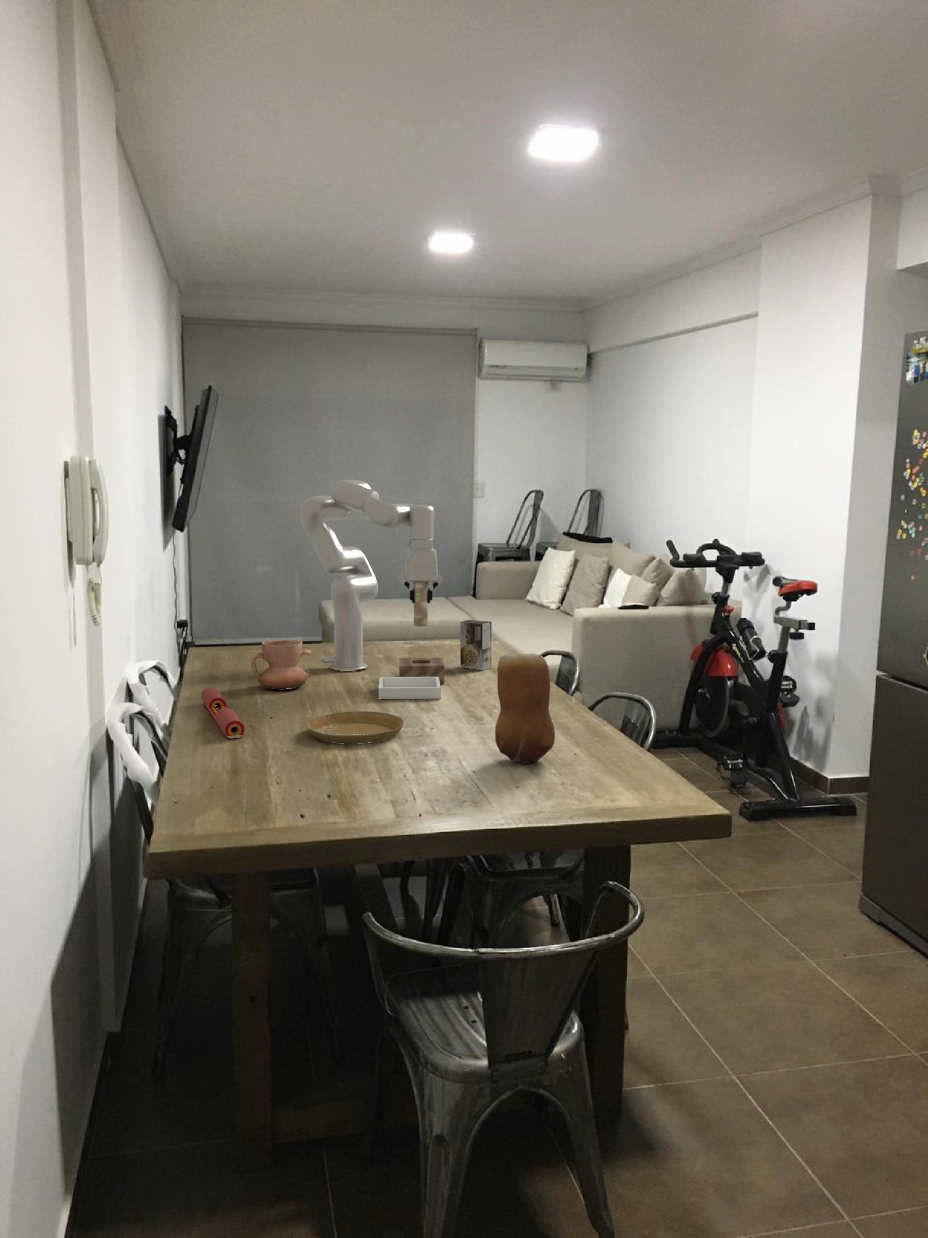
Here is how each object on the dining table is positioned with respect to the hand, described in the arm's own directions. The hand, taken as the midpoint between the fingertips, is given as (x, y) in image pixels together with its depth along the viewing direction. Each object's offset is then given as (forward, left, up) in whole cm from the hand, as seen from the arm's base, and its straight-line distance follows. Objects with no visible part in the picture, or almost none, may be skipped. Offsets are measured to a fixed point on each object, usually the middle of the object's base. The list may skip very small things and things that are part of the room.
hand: (420, 602), depth 305 cm
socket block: (0, 0, -25) cm, 25 cm away
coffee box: (+19, +20, -25) cm, 37 cm away
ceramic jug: (-43, -10, -25) cm, 51 cm away
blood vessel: (-54, -50, -26) cm, 78 cm away
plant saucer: (-18, -66, -26) cm, 73 cm away
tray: (-4, -20, -25) cm, 32 cm away
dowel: (0, 0, -7) cm, 7 cm away
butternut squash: (+21, -92, -25) cm, 98 cm away
